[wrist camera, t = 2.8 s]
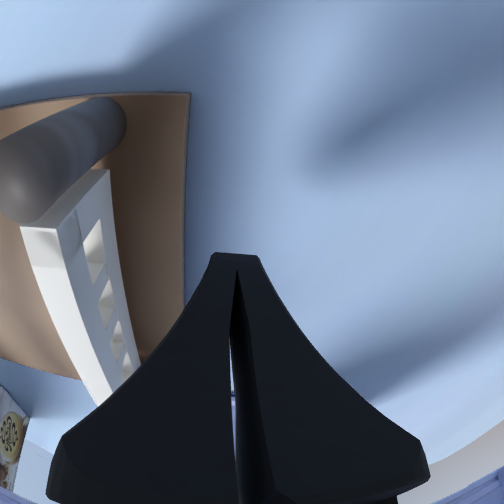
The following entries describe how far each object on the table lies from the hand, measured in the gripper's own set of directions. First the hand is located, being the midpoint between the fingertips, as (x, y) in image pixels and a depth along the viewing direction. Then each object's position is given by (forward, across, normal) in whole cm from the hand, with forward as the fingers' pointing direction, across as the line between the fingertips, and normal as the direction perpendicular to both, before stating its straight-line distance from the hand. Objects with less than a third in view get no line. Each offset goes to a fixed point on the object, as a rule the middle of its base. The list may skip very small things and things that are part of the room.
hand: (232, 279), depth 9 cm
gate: (+2, +5, +3) cm, 6 cm away
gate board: (+4, +11, +4) cm, 12 cm away
